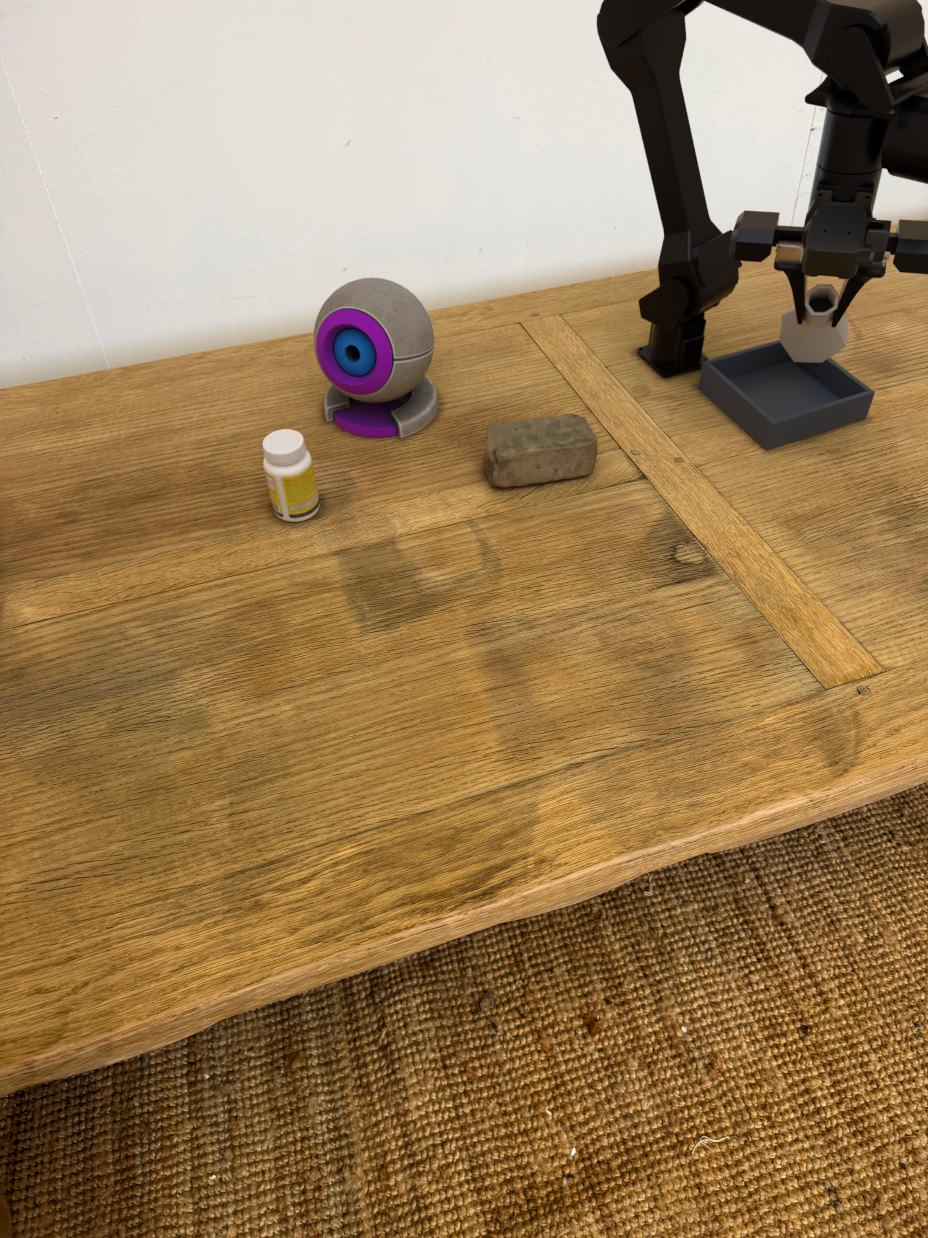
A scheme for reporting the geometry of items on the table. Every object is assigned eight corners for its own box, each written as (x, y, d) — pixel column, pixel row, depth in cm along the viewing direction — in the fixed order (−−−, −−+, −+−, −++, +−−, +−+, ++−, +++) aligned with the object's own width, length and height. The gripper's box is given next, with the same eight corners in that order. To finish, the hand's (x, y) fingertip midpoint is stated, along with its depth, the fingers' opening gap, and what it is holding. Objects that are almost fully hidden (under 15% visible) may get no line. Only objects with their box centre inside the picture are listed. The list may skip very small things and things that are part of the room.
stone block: (598, 478, 98) (601, 439, 94) (491, 495, 96) (490, 456, 93) (582, 445, 102) (585, 406, 98) (479, 461, 100) (477, 423, 97)
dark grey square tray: (697, 387, 108) (702, 361, 106) (792, 360, 112) (799, 333, 109) (766, 450, 100) (773, 423, 97) (866, 419, 103) (875, 391, 101)
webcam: (305, 426, 105) (282, 303, 94) (356, 367, 113) (340, 247, 102) (410, 450, 102) (399, 325, 91) (455, 387, 110) (450, 265, 99)
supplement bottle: (328, 498, 97) (316, 431, 91) (308, 527, 94) (294, 460, 88) (286, 489, 98) (272, 422, 92) (265, 518, 95) (249, 451, 89)
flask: (771, 310, 103) (775, 276, 93) (840, 289, 101) (851, 252, 91) (787, 373, 102) (792, 345, 93) (856, 353, 100) (869, 322, 91)
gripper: (731, 191, 82) (711, 353, 93) (964, 203, 77) (914, 374, 88) (747, 147, 89) (727, 302, 100) (961, 155, 84) (915, 318, 95)
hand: (816, 324), depth 95 cm, fingers closed on flask, 3 cm apart
